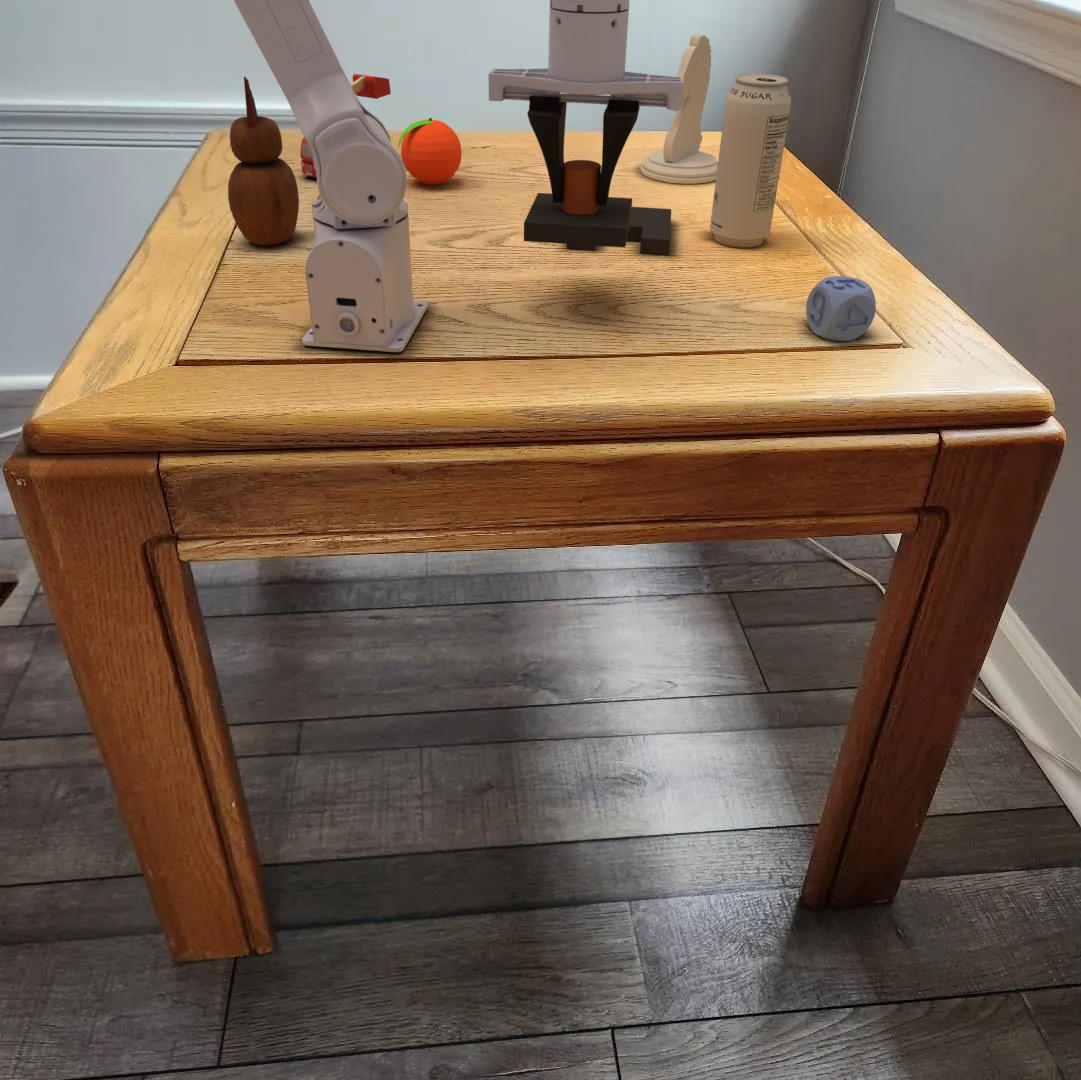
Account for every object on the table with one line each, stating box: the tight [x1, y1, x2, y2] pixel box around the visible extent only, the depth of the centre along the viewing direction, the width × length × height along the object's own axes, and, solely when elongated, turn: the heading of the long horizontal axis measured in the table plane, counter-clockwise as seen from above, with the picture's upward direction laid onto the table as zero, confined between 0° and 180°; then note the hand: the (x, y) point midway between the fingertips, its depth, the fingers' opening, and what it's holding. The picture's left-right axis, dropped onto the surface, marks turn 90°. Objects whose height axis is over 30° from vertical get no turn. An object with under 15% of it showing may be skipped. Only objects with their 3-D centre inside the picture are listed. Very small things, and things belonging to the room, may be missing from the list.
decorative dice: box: [805, 275, 877, 342], centre depth 77 cm, size 4×4×4 cm
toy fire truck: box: [299, 73, 392, 179], centre depth 113 cm, size 3×14×10 cm, turn 148°
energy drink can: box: [709, 73, 792, 249], centre depth 93 cm, size 6×6×15 cm
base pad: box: [566, 206, 672, 256], centre depth 97 cm, size 10×10×2 cm
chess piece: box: [640, 33, 718, 185], centre depth 112 cm, size 10×10×15 cm
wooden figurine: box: [227, 76, 300, 247], centre depth 89 cm, size 7×6×15 cm
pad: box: [523, 159, 633, 248], centre depth 78 cm, size 11×8×5 cm
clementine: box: [397, 117, 463, 186], centre depth 108 cm, size 8×7×7 cm
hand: (581, 200), depth 76 cm, fingers closed on pad, 3 cm apart
